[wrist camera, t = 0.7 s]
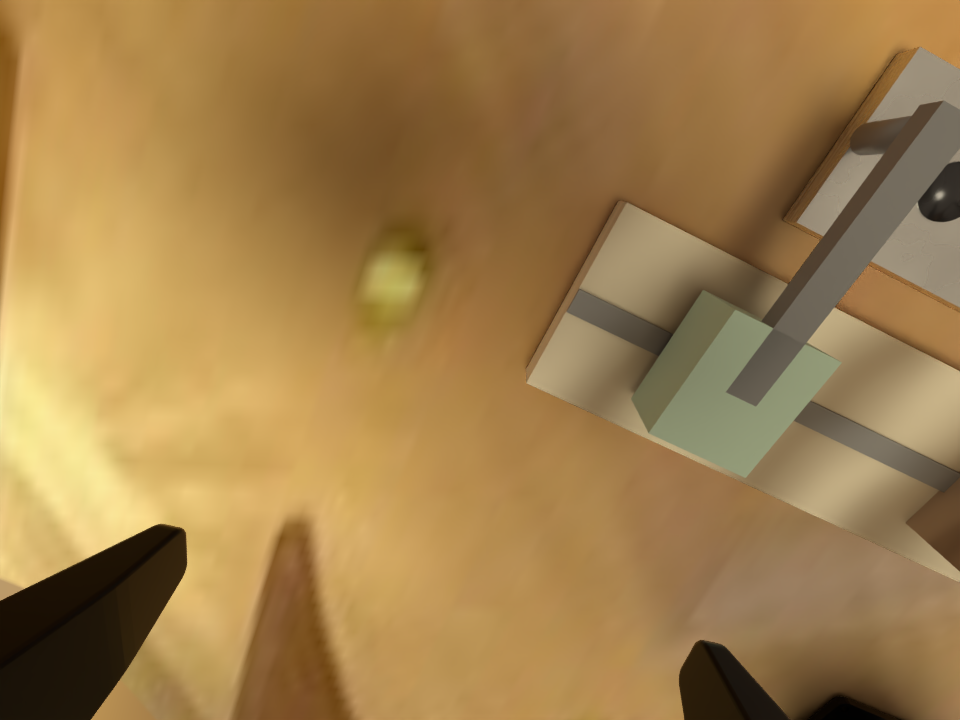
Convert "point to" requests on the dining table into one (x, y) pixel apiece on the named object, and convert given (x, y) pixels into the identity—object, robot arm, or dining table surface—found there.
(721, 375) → the slider leg
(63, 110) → the dining table surface
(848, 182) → the bolt hole plate
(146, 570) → the robot arm
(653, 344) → the board
